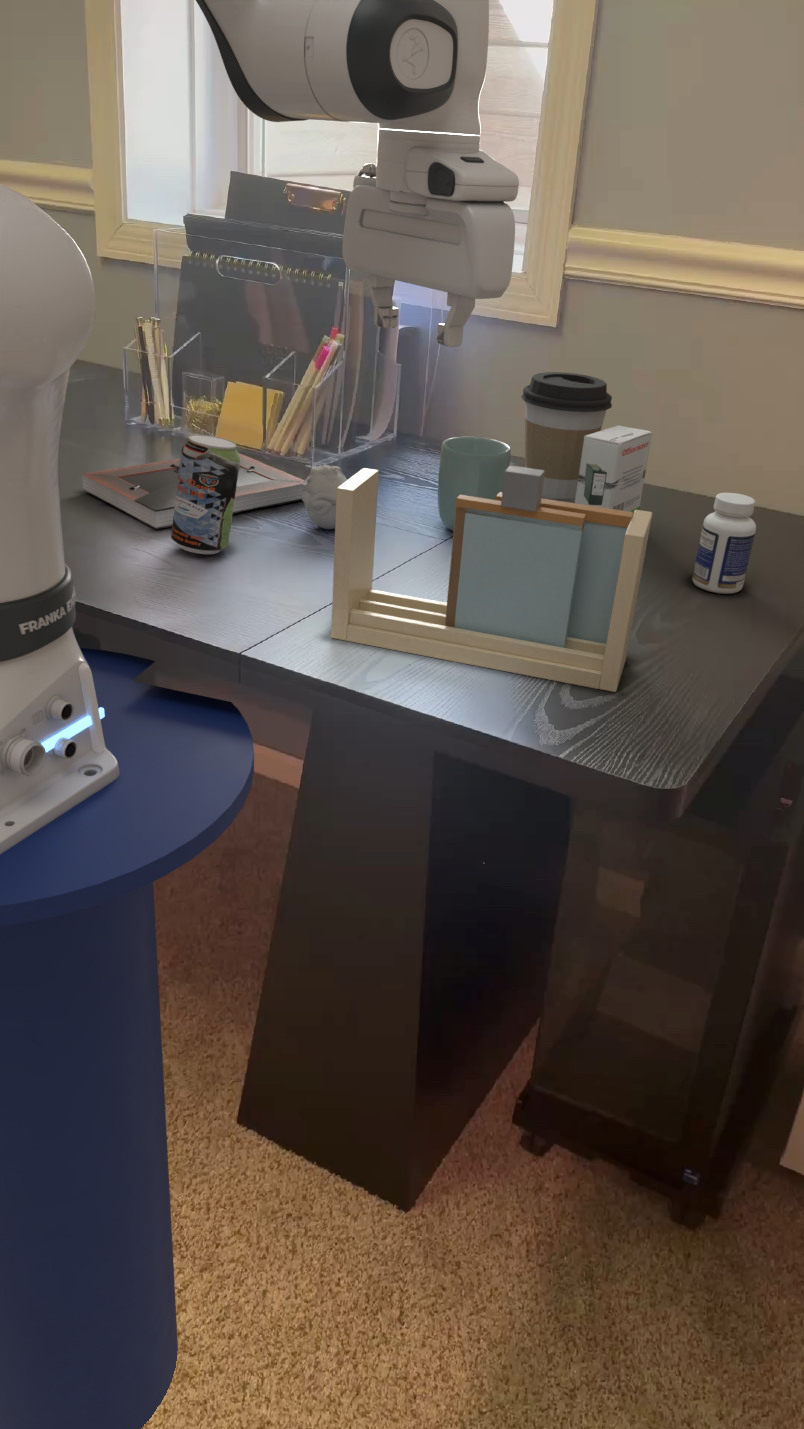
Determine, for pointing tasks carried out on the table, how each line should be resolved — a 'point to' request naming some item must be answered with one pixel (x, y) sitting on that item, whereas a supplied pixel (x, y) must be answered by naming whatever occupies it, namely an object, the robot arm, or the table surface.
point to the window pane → (514, 563)
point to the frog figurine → (322, 494)
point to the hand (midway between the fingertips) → (416, 336)
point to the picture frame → (155, 488)
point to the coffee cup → (561, 427)
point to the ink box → (613, 468)
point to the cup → (469, 472)
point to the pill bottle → (725, 544)
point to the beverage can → (205, 494)
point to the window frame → (421, 630)
